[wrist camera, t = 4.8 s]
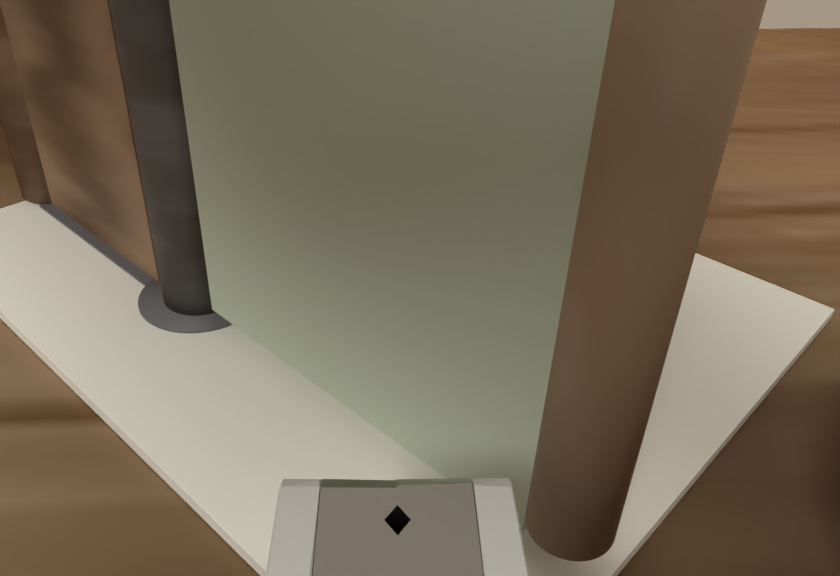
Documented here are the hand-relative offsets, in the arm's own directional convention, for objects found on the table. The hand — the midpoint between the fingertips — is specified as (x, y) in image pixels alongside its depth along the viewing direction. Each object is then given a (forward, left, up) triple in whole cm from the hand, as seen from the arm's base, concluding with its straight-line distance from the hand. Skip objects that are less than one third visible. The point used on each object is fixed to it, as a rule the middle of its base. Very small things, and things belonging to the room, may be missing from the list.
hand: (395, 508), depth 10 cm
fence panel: (-6, +6, -6) cm, 10 cm away
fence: (-20, +6, -6) cm, 21 cm away
